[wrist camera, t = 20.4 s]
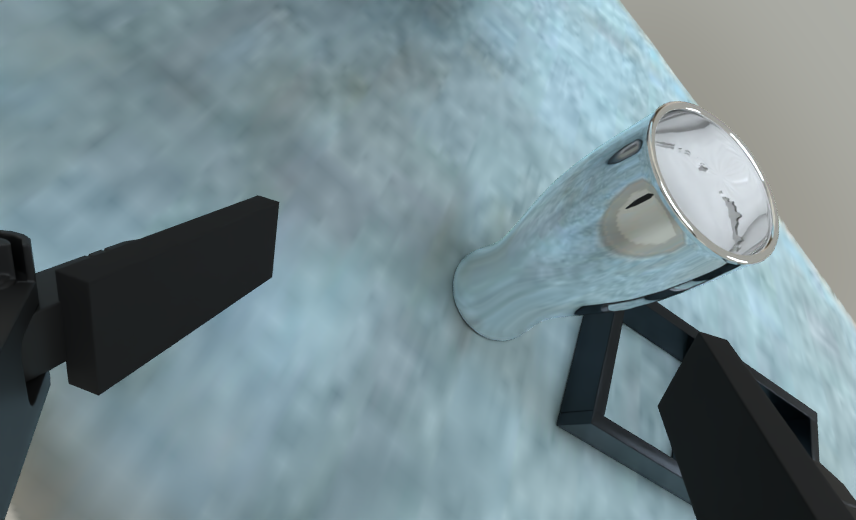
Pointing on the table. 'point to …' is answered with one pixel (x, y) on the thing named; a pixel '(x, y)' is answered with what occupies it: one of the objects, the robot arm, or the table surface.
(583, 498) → the table surface
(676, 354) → the black divided tray
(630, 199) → the beer glass
